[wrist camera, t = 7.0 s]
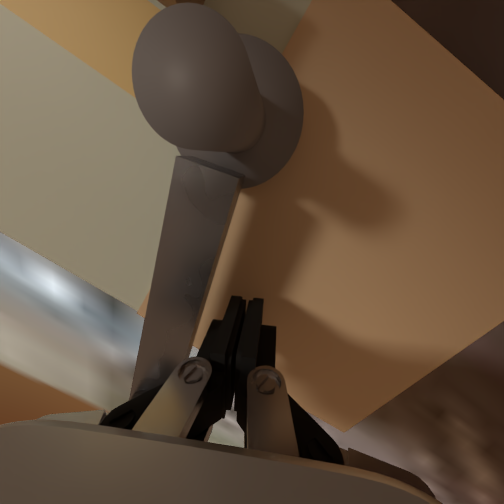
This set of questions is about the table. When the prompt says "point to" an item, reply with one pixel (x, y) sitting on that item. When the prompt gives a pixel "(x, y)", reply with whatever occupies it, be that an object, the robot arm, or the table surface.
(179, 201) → the swing bar
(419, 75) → the door and jamb board
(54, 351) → the table surface
